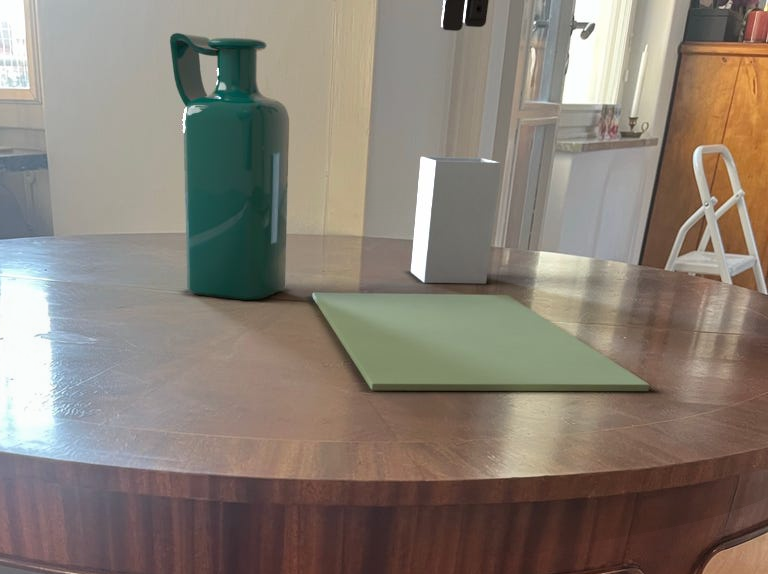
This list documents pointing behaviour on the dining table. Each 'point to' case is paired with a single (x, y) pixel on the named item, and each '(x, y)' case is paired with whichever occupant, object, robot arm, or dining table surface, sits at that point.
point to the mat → (464, 345)
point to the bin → (454, 219)
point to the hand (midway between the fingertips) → (461, 28)
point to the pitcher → (232, 172)
